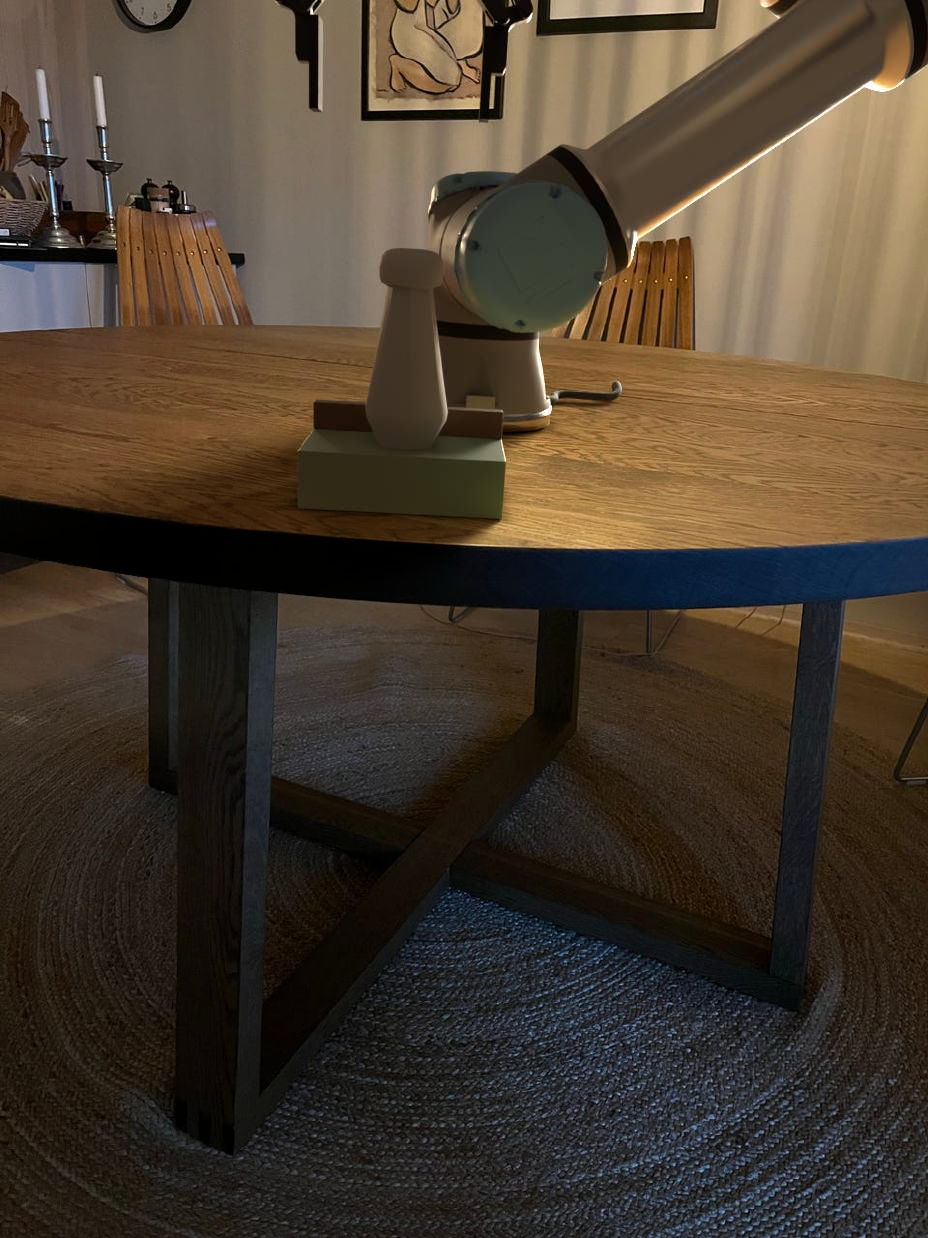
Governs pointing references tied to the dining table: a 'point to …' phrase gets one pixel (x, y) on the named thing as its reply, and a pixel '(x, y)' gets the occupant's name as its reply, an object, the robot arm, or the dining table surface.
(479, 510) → the spice shelf
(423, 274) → the salt shaker
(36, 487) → the dining table surface
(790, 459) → the dining table surface
